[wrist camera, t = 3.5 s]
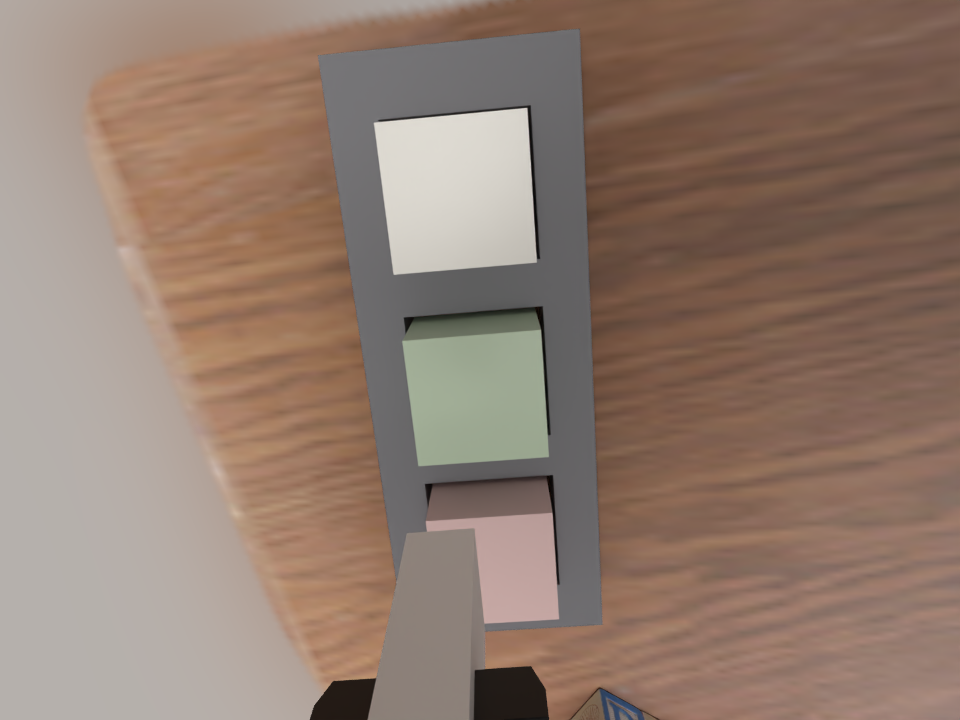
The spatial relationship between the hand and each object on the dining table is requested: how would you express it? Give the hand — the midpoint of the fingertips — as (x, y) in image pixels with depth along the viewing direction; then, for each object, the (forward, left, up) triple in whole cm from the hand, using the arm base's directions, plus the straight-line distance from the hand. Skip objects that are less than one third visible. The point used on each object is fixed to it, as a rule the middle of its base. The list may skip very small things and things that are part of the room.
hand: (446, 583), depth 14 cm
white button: (-7, -4, -16) cm, 18 cm away
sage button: (0, 0, -16) cm, 16 cm away
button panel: (0, 0, -17) cm, 17 cm away
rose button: (+6, +5, -16) cm, 18 cm away
